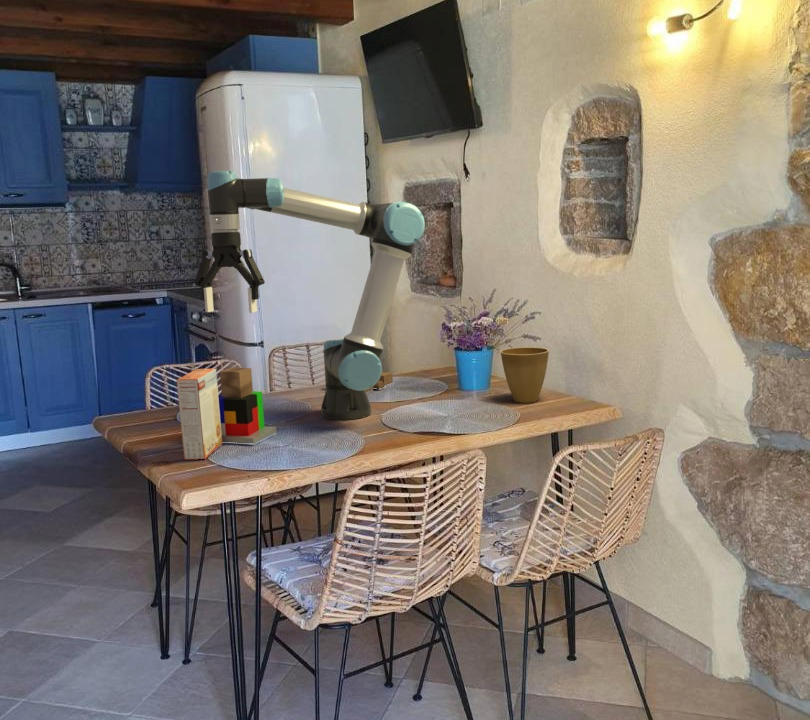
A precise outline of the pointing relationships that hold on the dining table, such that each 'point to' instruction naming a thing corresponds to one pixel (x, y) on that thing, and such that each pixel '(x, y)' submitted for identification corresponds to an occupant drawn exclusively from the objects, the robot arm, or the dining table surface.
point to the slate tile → (251, 436)
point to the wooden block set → (382, 381)
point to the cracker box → (199, 413)
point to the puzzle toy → (241, 414)
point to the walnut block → (236, 382)
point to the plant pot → (525, 372)
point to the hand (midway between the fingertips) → (231, 312)
